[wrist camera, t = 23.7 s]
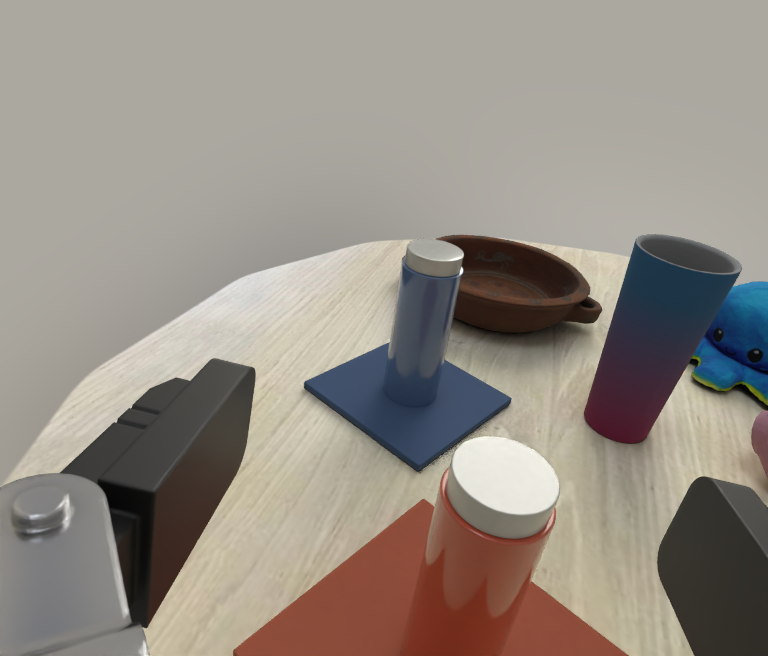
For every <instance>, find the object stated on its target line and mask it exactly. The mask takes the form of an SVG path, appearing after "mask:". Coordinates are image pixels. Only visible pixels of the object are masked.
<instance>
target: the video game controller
mask: <svg viewBox="0 0 768 656" xmlns="http://www.w3.org/2000/svg"><path fill="white" fill-rule="evenodd" d="M751 439H752V446H753V449H754V451H755V453H757V454H758V456H759V458H760V460H761V463H762V465H763V468H764V470H765V472H766V474H767V476H768V411H763V412H761V413H760V414H759V415H758V416H757V417H756V419H755V422H754V424H753V428H752V435H751Z"/></svg>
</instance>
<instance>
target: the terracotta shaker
mask: <svg viewBox="0 0 768 656" xmlns="http://www.w3.org/2000/svg"><path fill="white" fill-rule="evenodd" d="M559 494H560V484H559V480H558V477H557V475H556V472H555V471H554V469H553V468H552V466H551V465H550V464H549V462H548V461H547V460H546V459H545V458H544V457H543V456H541V455H540V454H539V453H538V452H536V451H535V450H533V449H532V448H530V447H528V446H526V445H524V444H522V443H520V442H517V441H514V440H511V439H508V438H503V437H497V436H482V437H476V438H472V439H470V440H467V441H465V442H464V443H462V444H461V445H460V446H459V447H458V448H457V449H456V450H455V452H454V454H453V456H452V460H451V464H450V467H449V468H448V469H447V470H446V471H445V472H444V474H443V476H442V479H441V482H440V486H439V490H438V494H437V498H436V503H435V507H434V511H433V515H432V519H431V523H430V527H429V531H428V536H427V540H426V544H425V548H424V552H423V556H422V560H421V564H420V569H419V573H418V577H417V581H416V585H415V589H414V593H413V597H412V602H411V606H410V610H409V614H408V618H407V622H406V626H405V630H404V635H403V639H402V643H401V649H400V656H501V655H502V652H503V650H504V647H505V645H506V642H507V640H508V637H509V635H510V633H511V630H512V628H513V625H514V623H515V620H516V618H517V615H518V613H519V610H520V608H521V605H522V603H523V600H524V598H525V595H526V593H527V591H528V588H529V586H530V583H531V581H532V578H533V576H534V573H535V571H536V568H537V566H538V563H539V561H540V558H541V556H542V553H543V551H544V549H545V546H546V544H547V541H548V539H549V536H550V534H551V531H552V529H553V526H554V524H555V520H556V509H555V505H556V503H557V500H558V498H559Z"/></svg>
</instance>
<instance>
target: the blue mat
mask: <svg viewBox="0 0 768 656" xmlns="http://www.w3.org/2000/svg"><path fill="white" fill-rule="evenodd" d="M389 343H390V342H389ZM389 343H387V344H385V345H382V346H380V347H378V348H376V349H374V350H372V351H370V352H367V353H365V354H363V355H361V356H359V357H357V358H354V359H352V360H350V361H348V362H346V363H344V364H342V365H339V366H337V367H335V368H333V369H331V370H329V371H327V372H324V373H322V374H320V375H318V376H316V377H314V378H311V379H309V380H307V381H305V382H304V388H305V389H307V390H308V391H309V392H311V393H312V394H313V395H315V396H316V397H318V398H319V399H320V400H322V401H323V402H324V403H326V404H327V405H328V406H330V407H331V408H332V409H334V410H335V411H337V412H338V413H339V414H341V415H342V416H343V417H345V418H346V419H347V420H349V421H350V422H351V423H353V424H354V425H356V426H357V427H358V428H360V429H361V430H362V431H364V432H365V433H366V434H368V435H369V436H370V437H372V438H373V439H374V440H376V441H377V442H379V443H380V444H381V445H383V446H384V447H385V448H387V449H388V450H389V451H391V452H392V453H393V454H395V455H396V456H398V457H399V458H400V459H402V460H403V461H404V462H406V463H407V464H408V465H410V466H411V467H412V468H414V469H415V470H417V471H420V470H421V469H422V468H424V467H425V466H426V465H428V464H429V463H431V462H432V461H433V460H435V459H436V458H437V457H439V456H440V455H441V454H443V453H444V452H445V451H447V450H448V449H449V448H451V447H452V446H454V445H455V444H456V443H458V442H459V441H460V440H462V439H463V438H464V437H466V436H467V435H468V434H470V433H471V432H473V431H474V430H475V429H477V428H478V427H479V426H481V425H482V424H483V423H485V422H486V421H487V420H489V419H490V418H491V417H493V416H494V415H496V414H497V413H498V412H500V411H501V410H502V409H504V408H505V407H506V406H508V405H509V404H510V402H511V399H512V398H510V397H508V396H507V395H505V394H503V393H501V392H500V391H498V390H496V389H495V388H493V387H491V386H489V385H488V384H486V383H484V382H482V381H481V380H479V379H477V378H475V377H474V376H472V375H470V374H468V373H467V372H465V371H463V370H461V369H460V368H458V367H456V366H454V365H453V364H451V363H449V362H448V361H446V360H444V365H443V369H442V374H441V379H440V383H439V388H438V393H437V397H436V399H435V400H434V401H433V402H432V403H430V404H428V405H426V406H421V407H409V406H404V405H401V404H398V403H396V402H394V401H392V400H391V399H390V398H389V397H387V395H386V394H385V392H384V390H383V382H384V376H385V369H386V362H387V356H388V349H389Z"/></svg>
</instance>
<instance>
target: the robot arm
mask: <svg viewBox="0 0 768 656" xmlns="http://www.w3.org/2000/svg"><path fill="white" fill-rule="evenodd" d="M254 386H255V369H254V368H253V367H249V366H245V365H240V364H236V363H232V362H228V361H224V360H220V359H215V358H213V359H211V360H210V361H209V362H208V363H207V364H206V365H205V366H204V367H203V368H202V369H201V370H200V371H199V372H198V373H197V375H196V376H195V377H194V378H193V379H192V380H191V381H188V380H184V379H180V378H174V379H172V380H169V381H167V382H165V383H162V384H160V385H157V386H155V387H153V388H150V389H149V390H148V391H147V392H146V393H145V394H144V395H143V396H142V397H141V398H139V399H138V400H137V401H136V402H135V403H134V404H133V406H132V408H131V409H130V408H129V409H128V410H127V411H126V412H125V413H123V414H122V415H121V416H120V417H119V418H118V421H117V423H115V422H114V423H113V424H112V425H111V426H110V427H108V428H107V429H106V430H105V431H104V432H103V433H102V434H101V435H100V436H99V437H98V438H97V439H96V440H95V441H94V442H92V443H91V444H90V445H89V446H88V447H87V448H86V449H85V450H84V451H83V452H82V453H81V454H80V455H79V456H77V457H76V458H75V459H74V460H73V461H72V462H71V463H70V464H69V465H68V466H67V467H66V468H65V469H64V470H63V471H61V472H60V473H52V474H41V475H35V476H30V477H26V478H22V479H19V480H16V481H13V482H11V483H8V484H6V485H4V486H2V487H0V656H150V654H149V650H148V645H147V641H146V637H145V634H144V630H143V628H142V627H144V628H147V627H148V625H149V624H150V622H151V620H152V618H153V617H154V615H155V613H156V612H157V610H158V608H159V606H160V605H161V603H162V601H163V599H164V598H165V596H166V594H167V593H168V591H169V589H170V587H171V586H172V584H173V582H174V581H175V579H176V577H177V575H178V574H179V572H180V570H181V569H182V567H183V565H184V563H185V562H186V560H187V558H188V556H189V555H190V553H191V551H192V550H193V548H194V546H195V544H196V543H197V541H198V539H199V538H200V536H201V534H202V532H203V531H204V529H205V527H206V526H207V524H208V522H209V520H210V519H211V517H212V515H213V514H214V512H215V510H216V508H217V507H218V505H219V503H220V501H221V500H222V498H223V496H224V495H225V493H226V491H227V489H228V488H229V486H230V484H231V483H232V481H233V479H234V477H235V476H236V474H237V472H238V470H239V467H240V465H241V462H242V459H243V456H244V452H245V448H246V444H247V438H248V430H249V423H250V415H251V408H252V401H253V393H254ZM657 565H658V573H659V577H660V580H661V582H662V585H663V587H664V589H665V591H666V593H667V596H668V598H669V600H670V602H671V605H672V607H673V609H674V611H675V613H676V616H677V618H678V620H679V622H680V625H681V627H682V629H683V631H684V633H685V636H686V638H687V640H688V642H689V645H690V647H691V649H692V651H693V653H694V656H768V508H767V507H766V505H765V504H764V503H763V502H762V500H761V499H760V498H759V497H758V495H757V494H756V493H755V492H754V491H753V490H752V489H751V488H749V487H746V486H742V485H738V484H734V483H730V482H726V481H721V480H717V479H713V478H709V477H699V478H697V479H696V480H695V481H694V482H693V483H692V484H691V486H690V487H689V489H688V491H687V493H686V495H685V497H684V499H683V501H682V503H681V505H680V507H679V509H678V510H677V512H676V514H675V516H674V518H673V520H672V522H671V524H670V526H669V528H668V530H667V532H666V534H665V536H664V538H663V539H662V542H661V544H660V547H659V551H658V560H657Z"/></svg>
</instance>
